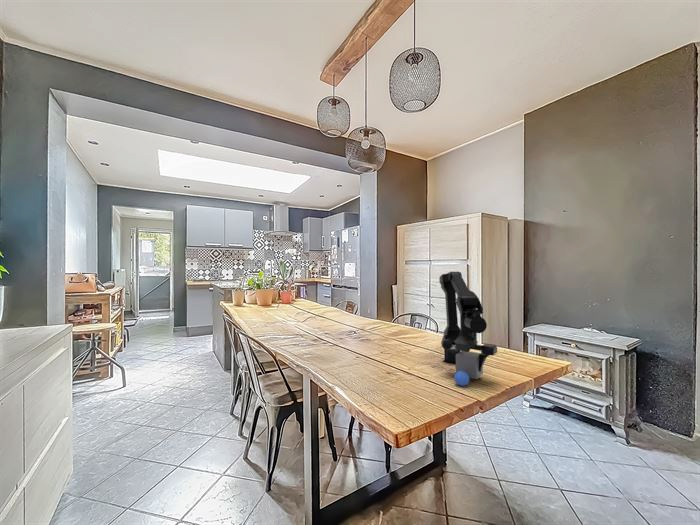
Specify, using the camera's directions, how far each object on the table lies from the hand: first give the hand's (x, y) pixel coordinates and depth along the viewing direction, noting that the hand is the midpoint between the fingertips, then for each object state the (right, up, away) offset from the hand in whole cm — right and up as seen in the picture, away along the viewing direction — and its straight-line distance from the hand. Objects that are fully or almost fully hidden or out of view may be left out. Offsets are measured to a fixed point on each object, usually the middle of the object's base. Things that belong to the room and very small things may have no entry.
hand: (469, 369), depth 114 cm
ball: (-5, -1, -7) cm, 9 cm away
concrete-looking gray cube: (0, -2, 0) cm, 2 cm away
